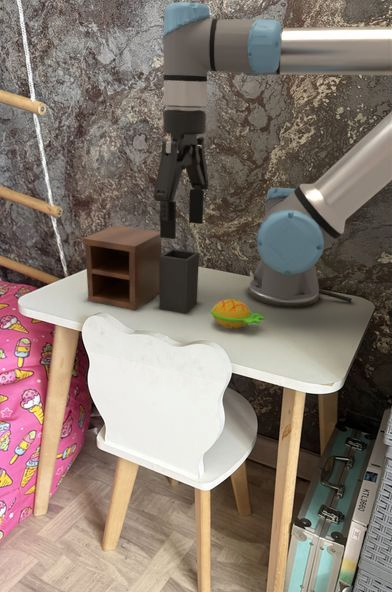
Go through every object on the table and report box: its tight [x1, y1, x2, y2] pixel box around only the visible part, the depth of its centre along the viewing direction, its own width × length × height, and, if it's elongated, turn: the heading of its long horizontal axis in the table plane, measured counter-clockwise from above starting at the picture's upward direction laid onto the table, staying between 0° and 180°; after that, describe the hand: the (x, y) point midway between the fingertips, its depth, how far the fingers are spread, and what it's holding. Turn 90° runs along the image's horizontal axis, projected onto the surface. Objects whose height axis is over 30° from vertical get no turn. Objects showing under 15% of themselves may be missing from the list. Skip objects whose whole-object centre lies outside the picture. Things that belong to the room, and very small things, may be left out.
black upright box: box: [158, 248, 200, 315], centre depth 105 cm, size 6×6×11 cm
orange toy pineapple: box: [210, 298, 265, 329], centre depth 98 cm, size 7×10×5 cm
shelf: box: [82, 225, 163, 311], centre depth 109 cm, size 12×13×13 cm
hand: (182, 230), depth 101 cm, fingers open, 13 cm apart
